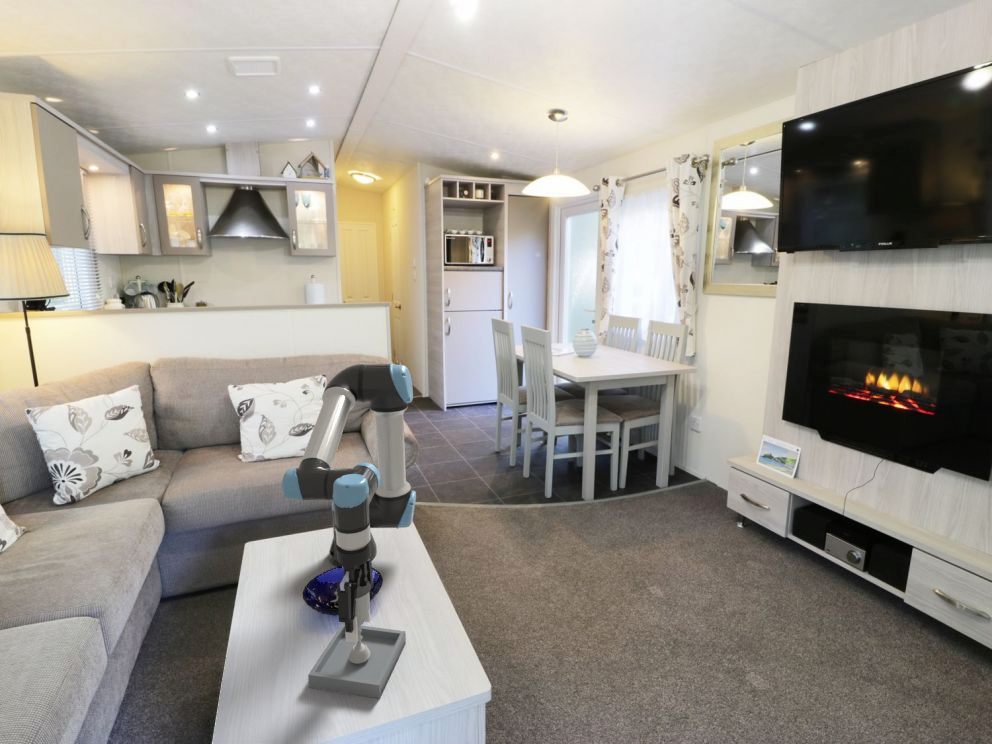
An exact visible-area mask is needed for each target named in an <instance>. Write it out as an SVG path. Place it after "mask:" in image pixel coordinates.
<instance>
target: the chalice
mask: <svg viewBox="0 0 992 744" xmlns="http://www.w3.org/2000/svg"><path fill="white" fill-rule="evenodd" d="M351 584H356V583H351ZM371 589H372V588H371V584H370V582H368V581H367V583H366V586H364V587H361V586H359V587H358V588H357V596H356V599H355V600H356V608H355V616H357V627H358V642H357V644H355V645H354V646H353V648H352V650H351V652H350V655H349V660H350V661H351V662H352V663H357V664H358V663H362V662H365V661H366V660H367V659H368V658H369V657H370V650H369V649H368V647H367V645H365V644H364V643H361V639H362V638H363V637H362V636H361V631H362V629H361V628H360V625H361V626H363V624H364V623H365V622H364V620H365V618H366V616H367V614H368V611H369V607H370V608H371V604H370V603H371V600H370V595H369V591H371Z"/></svg>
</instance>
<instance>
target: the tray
mask: <svg viewBox="0 0 992 744" xmlns="http://www.w3.org/2000/svg"><path fill="white" fill-rule="evenodd" d="M360 628H361V629H362V631H361V636H362V637H363V638H362V639H361V643H364V644H365V645H367V647H368V649H369V650H370V657H369V658H368V659H367V660H366V661H365V662H362V663H358V664H357V663H352V662H351V661H350V660H349V655H350V652H351V650H352V648H353V646H354V645H355V644H357V643H353V642H346V636H345V622H341V625H340V626H339V628H338V630H337V631H336V632H335V634H334V636H333V637H332V638H331V640H330V642H328V645H326V647H325V649H324V650H323V652H322V654H321V655H320V656H319V658H318V659H317V661H316V662H315V664H314V665H313V667H312V668H311V669H310V671H309V673H308V674H307V677H308V679H307V680H308V688H310V689H315V690H322V691H329V692H334V693H341V694H346V695H347V694H349V695H354V696H359V697H367V698H373V699H379V700H380V699H381V698H382V695H383V694H384V690H386V687H387V685H388V683H389V680H390V678H391V676H392V674H393V673H394V669H395V668H396V665H397V662H398V661H399V659H400V657H401V654H402V652H403V650H404V649H405V646H406V643H407V642H406V640H407V639H406V638H407V637H406V635H407V634H406V631H405V630H399V629H398V630H397V629H389V628H384V627H383V628H382V627H376V626H368V625H367V626H366V625H360Z"/></svg>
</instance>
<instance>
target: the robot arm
mask: <svg viewBox="0 0 992 744" xmlns="http://www.w3.org/2000/svg"><path fill="white" fill-rule="evenodd" d="M411 375H412V374H411V372H410V370H409V368H408V367H407V366H405V365H403V364H394V363H386V364H384V363H382V364H381V363H380V364H379V363H378V364H374V363H373V364H362V363H361V364H354V365H351V366H348V367H346V368H344V369H341V370H340V371H339V372H338V373H337V374H336V375H335V376H333V378H331V380H330V381H329V382H328V384H327V385H326V386H325V389H324V391H323V393H322V397H321V400H322V403H323V404H322V406H321V409H320V411H319V414H318V417H317V419H316V421H315V425H314V426H313V429H312V433H311V434H310V437H309V440H308V443H307V446H306V448H305V450H304V453H303V454H302V455H303V456H302V458H301V460H300V463H299V466H298V467H294V468H289V469H287V470H286V471H285V472H284V473H283V476H282V477H283V478H282V481H281V491H282V494H283V497H284V498H285V499H287V500H290V501H291V500H292V501H303V502H304V501H326V500H327V501H331V507H330V509H331V514H332V515H331V516H332V530H333V538H332V540H331V544H330V548H329V551H328V552H329V553H328V556H329V557H328V558H329V562H330V563H331V564H332V565H334V566H336V567H338V566H343V567H344V568H343V571H342V576H343V578H342V580H341V581H339V580H338V581H337V582H336V589H337V604H338V605H337V606H338V608H337V609H338V612H337V613H338V623H345V636H346V642H353V643H357V642H358V627H357V616H355V608H356V600H355V599H356V596H357V588H358V587H359V586H361V587H364V586H366V583H367V581H368V582H370V584H371V589H373V588H374V579H373V577H374V576H373V567H372V561H373V559H374V558H375V557H376V556H377V552H378V550H377V542H376V541H375V538H374V537H373V536H374V535H373V534H372V530H371V529H400V528H401V529H402V528H403V529H404V528H409V527H410V526H411V525H412V524H413V520H414V514H415V507H416V500H417V492H416V491H415V490H413V489H412V487H411V483H409V482H408V481H407V479H406V478H407V476H406V453H405V451H406V450H405V448H406V447H405V423H404V420H405V419H404V417H405V416H404V413H405V412H406V411H407V409H408V408H409V404H410V403H412V402H413V398H414V391H413V390H414V388H413V387H414V386H413V380H412V376H411ZM357 403H368V404H369V411H370V412H372V413H373V414H374V416H375V436H376V437H375V438H376V439H375V440H376V454H377V457H376V458H377V466H375V464H372V463H370V462H360V463H358V464H356V465H355V466H353V468H332V467H333V462H334V460H335V457H336V454H337V450H338V447H339V445H340V442H341V438H342V435H343V431H344V429H345V426H346V423H347V420H348V417H349V414H350V411H351V410H353V409H354V408H355V406H356V404H357ZM351 583H356V584H351ZM373 595H374V590H370V591H369V596H373ZM370 622H371V606H370V607H369V611H368V614H367V616H366V618H365V620H364V622H363V623H370Z"/></svg>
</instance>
